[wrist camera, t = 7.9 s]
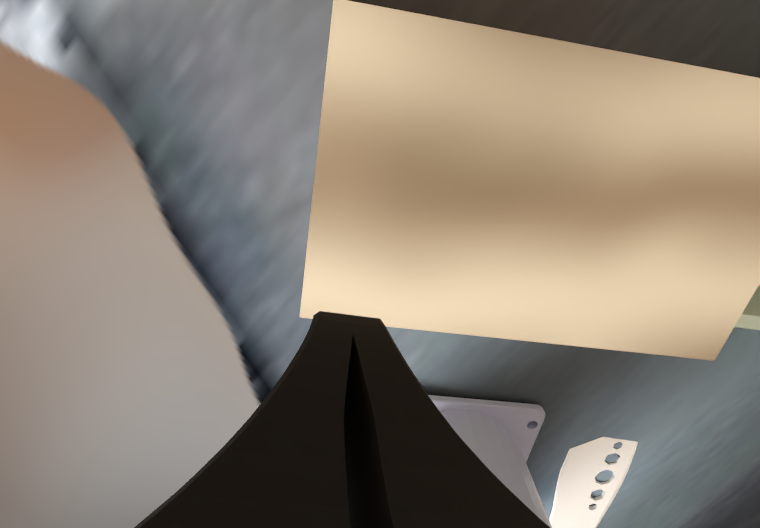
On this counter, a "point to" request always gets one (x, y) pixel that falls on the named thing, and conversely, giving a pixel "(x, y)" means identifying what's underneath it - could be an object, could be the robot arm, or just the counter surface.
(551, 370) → the counter surface
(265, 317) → the counter surface
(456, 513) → the robot arm
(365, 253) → the wooden box
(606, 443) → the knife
